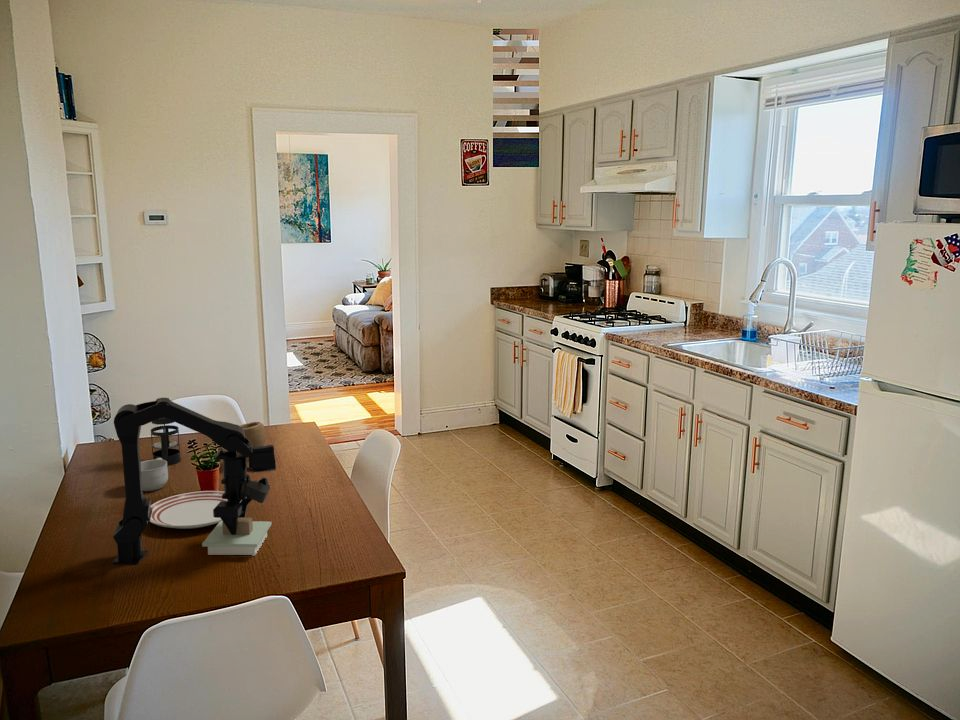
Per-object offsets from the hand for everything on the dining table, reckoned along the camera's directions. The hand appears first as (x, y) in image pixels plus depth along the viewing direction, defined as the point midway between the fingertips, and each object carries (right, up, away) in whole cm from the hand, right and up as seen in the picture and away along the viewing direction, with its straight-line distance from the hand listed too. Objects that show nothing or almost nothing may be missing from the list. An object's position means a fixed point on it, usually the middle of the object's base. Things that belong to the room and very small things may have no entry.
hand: (237, 529), depth 195 cm
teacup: (-41, +4, +41) cm, 58 cm away
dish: (0, -5, +1) cm, 5 cm away
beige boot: (-14, +8, +63) cm, 64 cm away
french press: (-46, +9, +64) cm, 79 cm away
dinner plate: (-18, -1, +19) cm, 27 cm away
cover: (0, -2, 0) cm, 2 cm away
